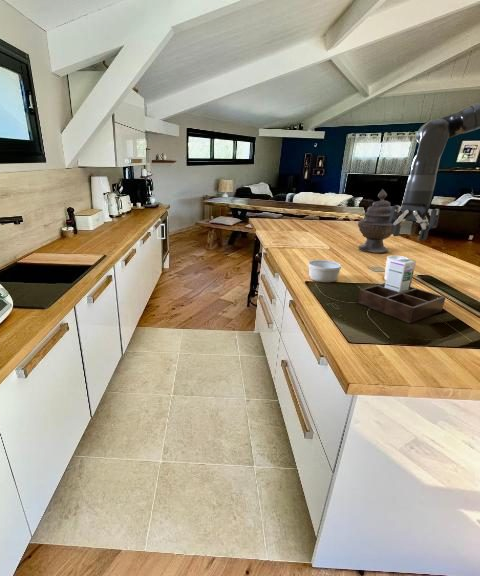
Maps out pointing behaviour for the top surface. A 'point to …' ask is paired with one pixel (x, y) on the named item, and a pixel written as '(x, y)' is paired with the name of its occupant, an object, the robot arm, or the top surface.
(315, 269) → the ramekin
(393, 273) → the syrup box
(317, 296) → the top surface
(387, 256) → the white cup
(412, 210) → the robot arm
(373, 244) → the decorative urn
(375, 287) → the rack
